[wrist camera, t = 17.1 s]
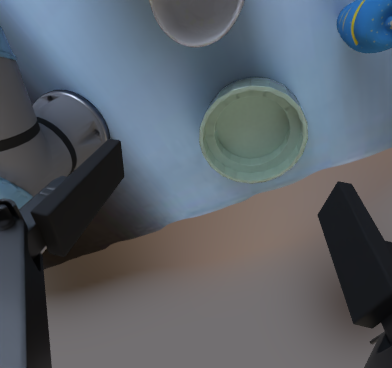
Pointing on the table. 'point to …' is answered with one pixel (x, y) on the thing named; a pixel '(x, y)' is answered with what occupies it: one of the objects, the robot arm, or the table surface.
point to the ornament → (367, 25)
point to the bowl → (253, 131)
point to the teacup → (196, 19)
